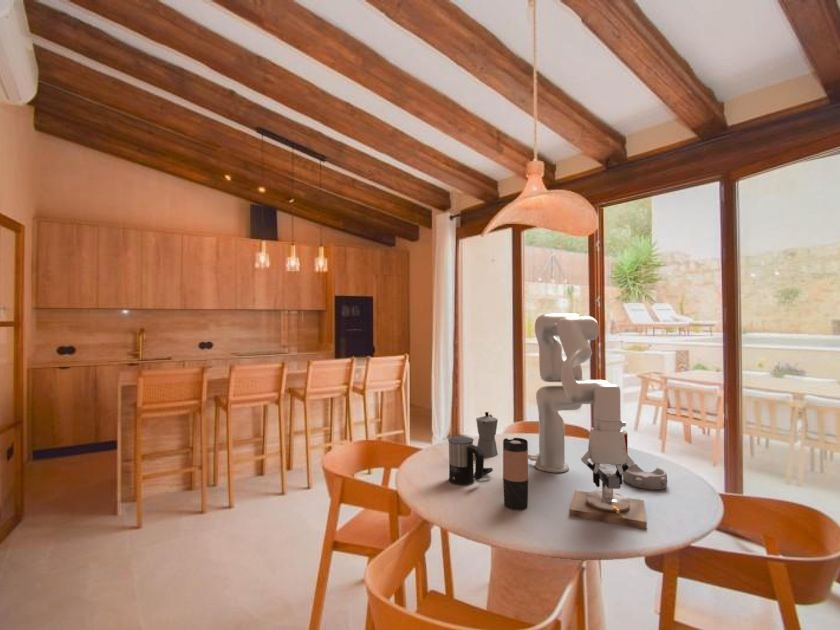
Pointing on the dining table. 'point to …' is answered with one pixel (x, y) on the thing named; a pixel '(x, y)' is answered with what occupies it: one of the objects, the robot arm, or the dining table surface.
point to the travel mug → (515, 473)
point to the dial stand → (627, 518)
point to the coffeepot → (487, 434)
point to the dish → (645, 478)
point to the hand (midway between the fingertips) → (607, 485)
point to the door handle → (608, 493)
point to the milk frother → (465, 461)
